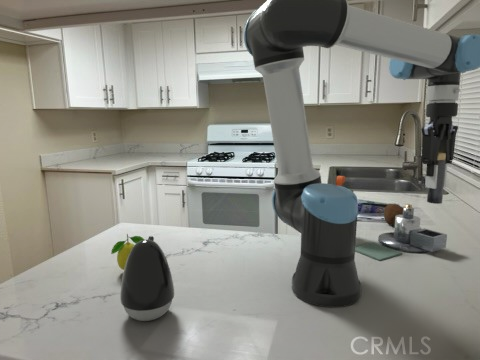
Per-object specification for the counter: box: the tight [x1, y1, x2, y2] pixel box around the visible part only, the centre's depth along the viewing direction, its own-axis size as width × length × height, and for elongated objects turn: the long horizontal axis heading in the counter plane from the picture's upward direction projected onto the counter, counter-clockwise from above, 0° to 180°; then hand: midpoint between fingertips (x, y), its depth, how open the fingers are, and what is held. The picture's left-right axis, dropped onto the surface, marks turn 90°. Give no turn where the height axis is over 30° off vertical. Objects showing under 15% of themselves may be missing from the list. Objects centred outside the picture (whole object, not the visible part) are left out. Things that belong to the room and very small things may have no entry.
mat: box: [355, 242, 403, 262], centre depth 104 cm, size 10×10×1 cm
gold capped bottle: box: [426, 152, 446, 205], centre depth 101 cm, size 4×4×14 cm
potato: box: [383, 203, 404, 226], centre depth 130 cm, size 7×10×8 cm
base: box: [377, 231, 431, 254], centre depth 112 cm, size 16×16×1 cm
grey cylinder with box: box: [393, 203, 448, 253], centre depth 108 cm, size 7×14×11 cm, turn 31°
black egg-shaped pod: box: [119, 235, 175, 322], centre depth 70 cm, size 10×10×15 cm
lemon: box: [110, 233, 145, 271], centre depth 90 cm, size 7×6×10 cm
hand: (435, 186), depth 101 cm, fingers closed on gold capped bottle, 4 cm apart
